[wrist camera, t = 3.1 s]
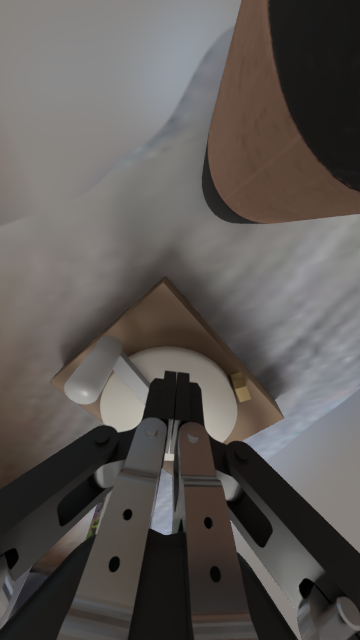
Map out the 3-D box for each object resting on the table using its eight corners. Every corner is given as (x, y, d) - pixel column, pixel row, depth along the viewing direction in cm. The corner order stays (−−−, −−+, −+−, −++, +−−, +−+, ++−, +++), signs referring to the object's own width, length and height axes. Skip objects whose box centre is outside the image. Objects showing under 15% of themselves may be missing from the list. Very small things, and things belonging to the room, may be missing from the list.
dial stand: (175, 456, 34) (173, 495, 29) (63, 366, 28) (36, 396, 23) (275, 400, 29) (293, 435, 24) (165, 276, 23) (160, 288, 18)
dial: (56, 361, 24) (-3, 421, 16) (169, 290, 20) (160, 325, 13) (154, 459, 29) (144, 536, 22) (255, 417, 26) (282, 491, 19)
